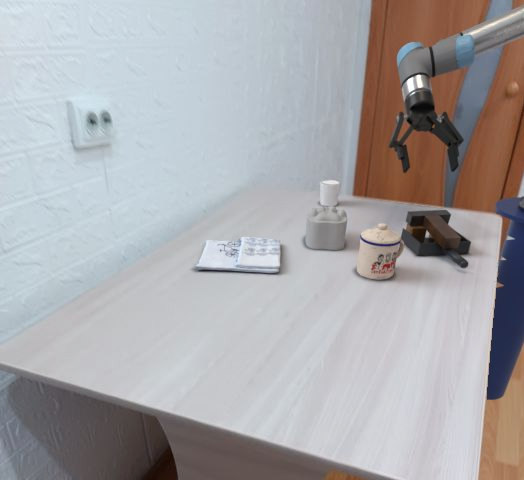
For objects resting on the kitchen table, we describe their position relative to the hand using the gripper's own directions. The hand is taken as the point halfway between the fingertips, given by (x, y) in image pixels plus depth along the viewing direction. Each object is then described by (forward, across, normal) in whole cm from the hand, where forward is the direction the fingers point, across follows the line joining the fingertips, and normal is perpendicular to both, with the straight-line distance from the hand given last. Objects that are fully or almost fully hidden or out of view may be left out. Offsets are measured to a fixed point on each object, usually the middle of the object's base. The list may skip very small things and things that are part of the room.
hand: (431, 169), depth 127 cm
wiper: (+10, 0, -6) cm, 12 cm away
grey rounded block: (+14, +28, -10) cm, 33 cm away
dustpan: (+24, 0, -1) cm, 24 cm away
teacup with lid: (+29, +20, +4) cm, 36 cm away
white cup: (-9, +18, -34) cm, 39 cm away
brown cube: (+13, +4, -8) cm, 16 cm away
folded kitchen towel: (+21, +52, -4) cm, 56 cm away
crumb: (+14, -3, -8) cm, 16 cm away
